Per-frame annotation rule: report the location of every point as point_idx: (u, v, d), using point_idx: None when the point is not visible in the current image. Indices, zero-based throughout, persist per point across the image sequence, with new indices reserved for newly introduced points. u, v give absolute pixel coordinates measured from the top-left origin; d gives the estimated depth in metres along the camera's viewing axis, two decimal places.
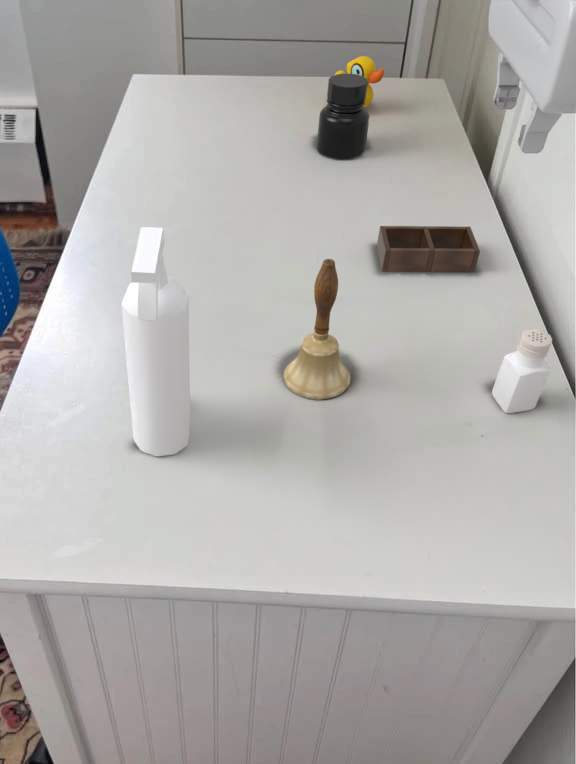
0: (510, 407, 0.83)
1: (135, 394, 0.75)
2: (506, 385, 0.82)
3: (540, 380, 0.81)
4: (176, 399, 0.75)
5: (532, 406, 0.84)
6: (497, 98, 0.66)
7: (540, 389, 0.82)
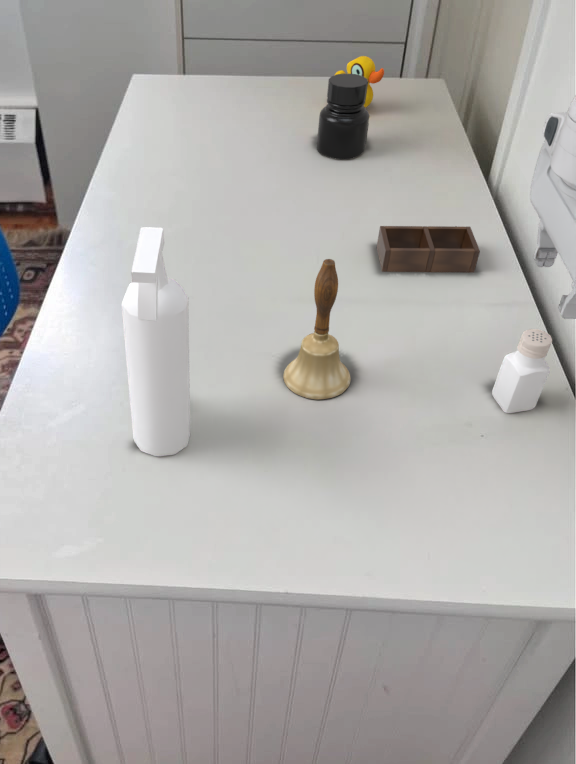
0: (510, 407, 0.83)
1: (135, 394, 0.75)
2: (506, 385, 0.82)
3: (540, 380, 0.81)
4: (176, 399, 0.75)
5: (532, 406, 0.84)
6: (537, 258, 0.76)
7: (540, 389, 0.82)
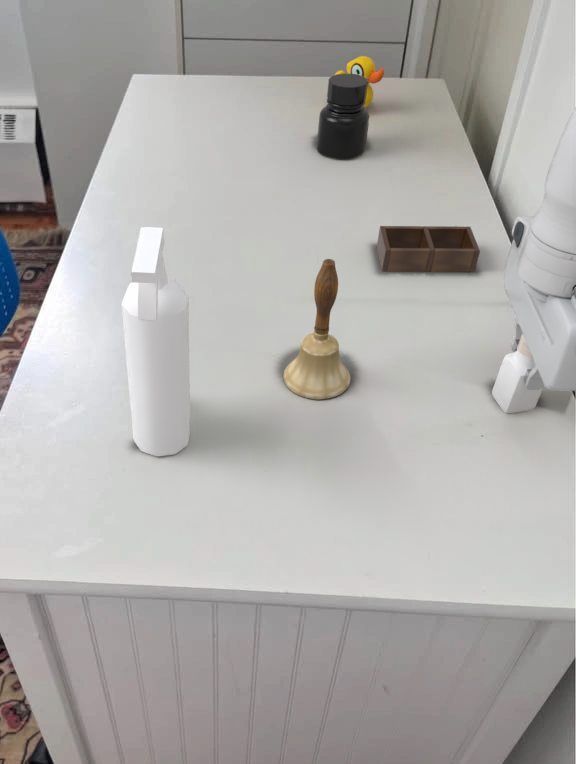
0: (510, 407, 0.83)
1: (135, 394, 0.75)
2: (506, 385, 0.82)
3: None
4: (176, 399, 0.75)
5: (532, 406, 0.84)
6: (514, 348, 0.83)
7: (540, 389, 0.82)
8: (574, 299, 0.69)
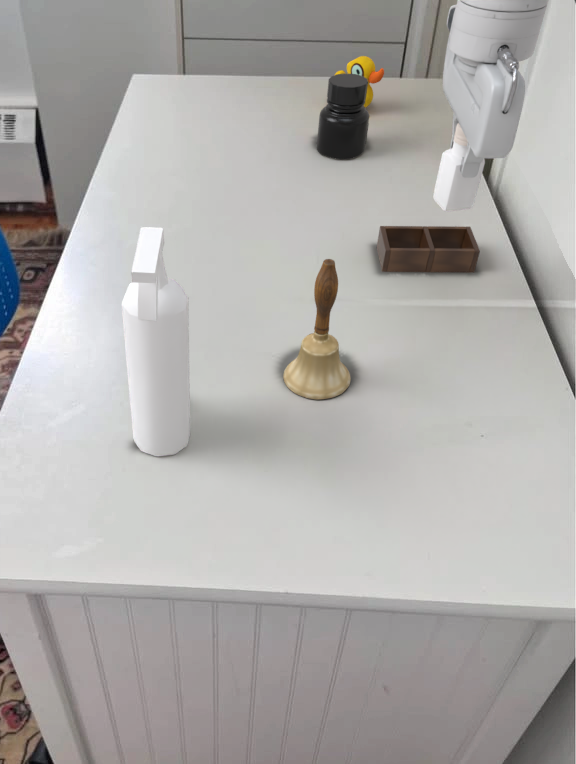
0: (449, 204, 0.87)
1: (135, 394, 0.75)
2: (445, 181, 0.86)
3: None
4: (176, 399, 0.75)
5: (470, 204, 0.88)
6: (452, 147, 0.87)
7: (476, 183, 0.86)
8: (499, 61, 0.73)
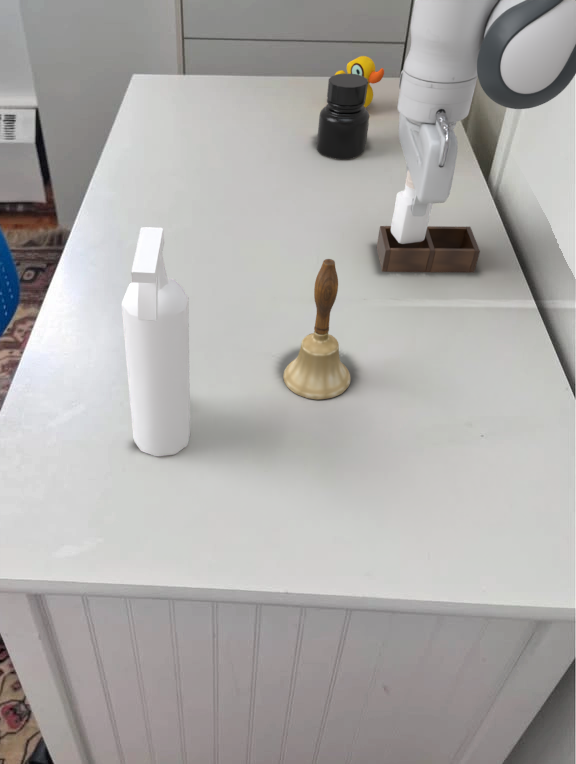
0: (403, 237, 1.00)
1: (135, 394, 0.75)
2: (399, 218, 0.99)
3: None
4: (176, 399, 0.75)
5: (421, 238, 1.01)
6: None
7: (426, 220, 0.99)
8: (437, 123, 0.86)
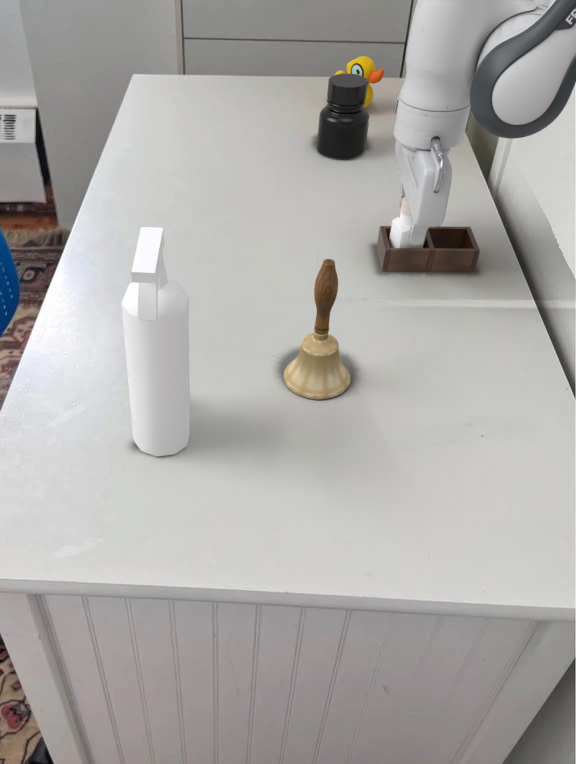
0: None
1: (135, 394, 0.75)
2: (394, 243, 1.02)
3: None
4: (176, 399, 0.75)
5: None
6: (401, 204, 1.03)
7: (421, 246, 1.02)
8: (432, 149, 0.88)
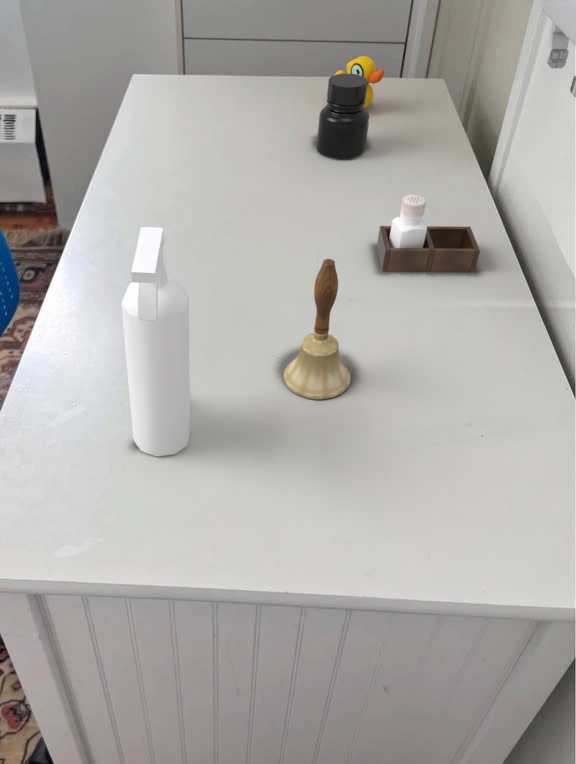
0: None
1: (135, 394, 0.75)
2: (394, 243, 1.02)
3: (419, 237, 1.01)
4: (176, 399, 0.75)
5: None
6: (550, 59, 0.86)
7: (421, 246, 1.02)
8: None
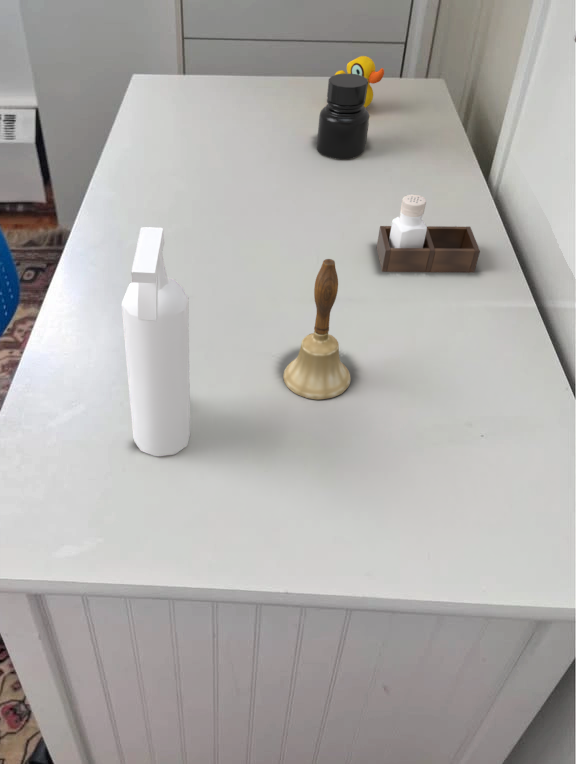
0: None
1: (135, 394, 0.75)
2: (394, 243, 1.02)
3: (419, 237, 1.01)
4: (176, 399, 0.75)
5: None
6: None
7: (421, 246, 1.02)
8: None
